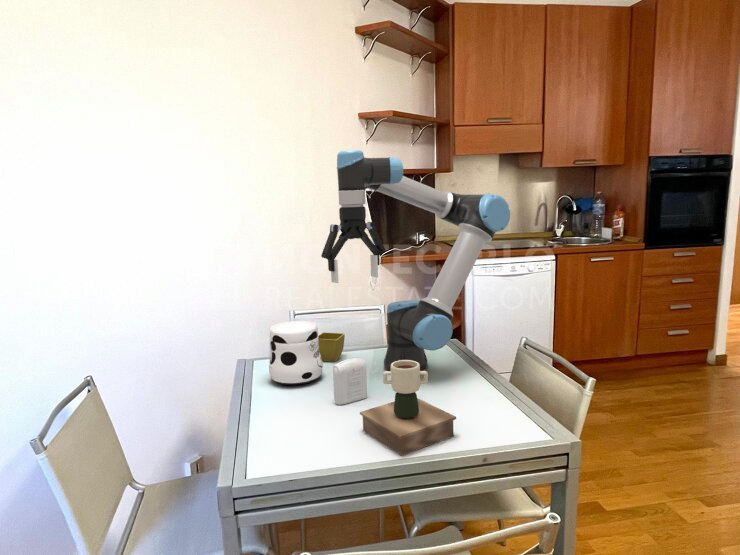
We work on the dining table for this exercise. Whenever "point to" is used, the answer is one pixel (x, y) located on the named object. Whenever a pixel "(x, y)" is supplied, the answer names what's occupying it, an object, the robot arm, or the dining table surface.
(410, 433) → the walnut stand
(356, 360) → the photo printer
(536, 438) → the dining table surface
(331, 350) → the flower pot
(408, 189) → the robot arm
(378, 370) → the dining table surface
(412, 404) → the character mug
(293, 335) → the milk container
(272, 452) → the dining table surface
